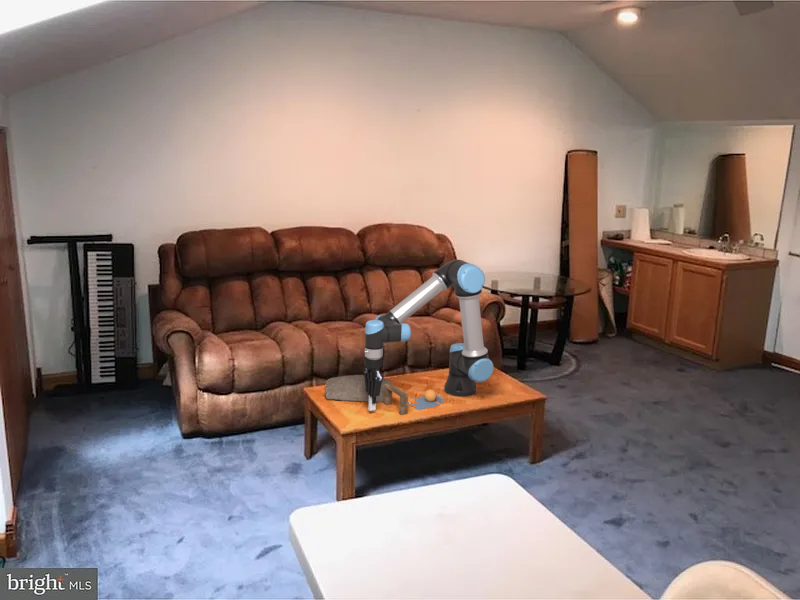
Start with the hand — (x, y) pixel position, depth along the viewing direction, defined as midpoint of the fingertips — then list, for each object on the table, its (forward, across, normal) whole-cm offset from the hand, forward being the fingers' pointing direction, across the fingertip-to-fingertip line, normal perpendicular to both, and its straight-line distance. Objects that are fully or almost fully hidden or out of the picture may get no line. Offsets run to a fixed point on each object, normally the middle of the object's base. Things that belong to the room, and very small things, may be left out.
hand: (372, 409), depth 290 cm
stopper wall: (+2, 0, +34) cm, 34 cm away
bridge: (+2, 0, +12) cm, 12 cm away
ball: (-1, 0, +31) cm, 31 cm away
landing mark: (+2, 0, +26) cm, 26 cm away
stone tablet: (+3, -23, +7) cm, 24 cm away
